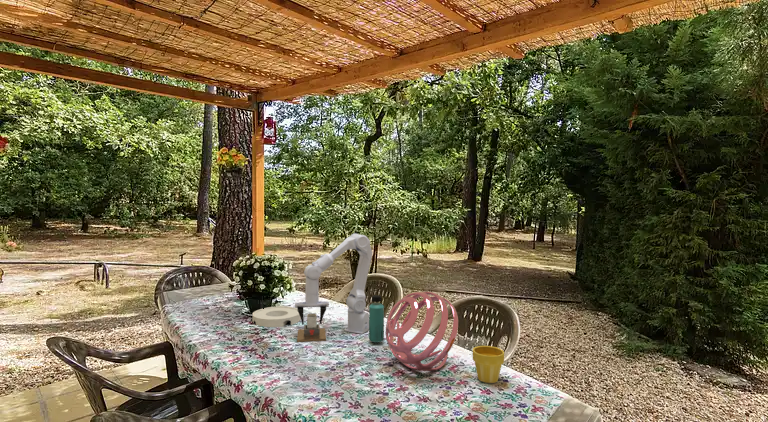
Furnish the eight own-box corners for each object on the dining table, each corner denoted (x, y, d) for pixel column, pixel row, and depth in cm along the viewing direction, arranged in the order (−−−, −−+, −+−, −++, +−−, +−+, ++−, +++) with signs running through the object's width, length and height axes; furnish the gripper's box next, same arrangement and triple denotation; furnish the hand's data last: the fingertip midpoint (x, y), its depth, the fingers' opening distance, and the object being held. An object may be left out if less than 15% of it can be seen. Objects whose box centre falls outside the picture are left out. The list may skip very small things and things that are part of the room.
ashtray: (306, 315, 216) (306, 307, 216) (292, 329, 193) (292, 320, 193) (263, 313, 218) (263, 305, 218) (244, 326, 195) (244, 318, 195)
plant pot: (480, 370, 149) (481, 343, 148) (508, 378, 142) (509, 350, 142) (466, 379, 141) (467, 351, 140) (495, 388, 134) (496, 358, 134)
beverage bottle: (382, 346, 171) (383, 298, 170) (366, 345, 172) (367, 297, 172) (385, 341, 177) (386, 294, 177) (370, 339, 179) (370, 293, 178)
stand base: (298, 331, 188) (298, 322, 188) (325, 330, 190) (325, 321, 190) (297, 342, 175) (297, 332, 175) (326, 340, 177) (326, 331, 177)
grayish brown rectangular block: (307, 332, 184) (307, 313, 184) (316, 331, 185) (316, 313, 185) (306, 335, 180) (307, 316, 180) (316, 334, 181) (316, 315, 181)
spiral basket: (452, 299, 171) (407, 266, 159) (491, 337, 146) (441, 301, 134) (410, 353, 171) (361, 324, 159) (442, 399, 146) (387, 369, 134)
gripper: (328, 290, 187) (328, 320, 188) (295, 291, 185) (295, 321, 185) (329, 293, 180) (328, 325, 181) (294, 294, 178) (294, 326, 178)
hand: (311, 323), depth 182 cm, fingers open, 7 cm apart
